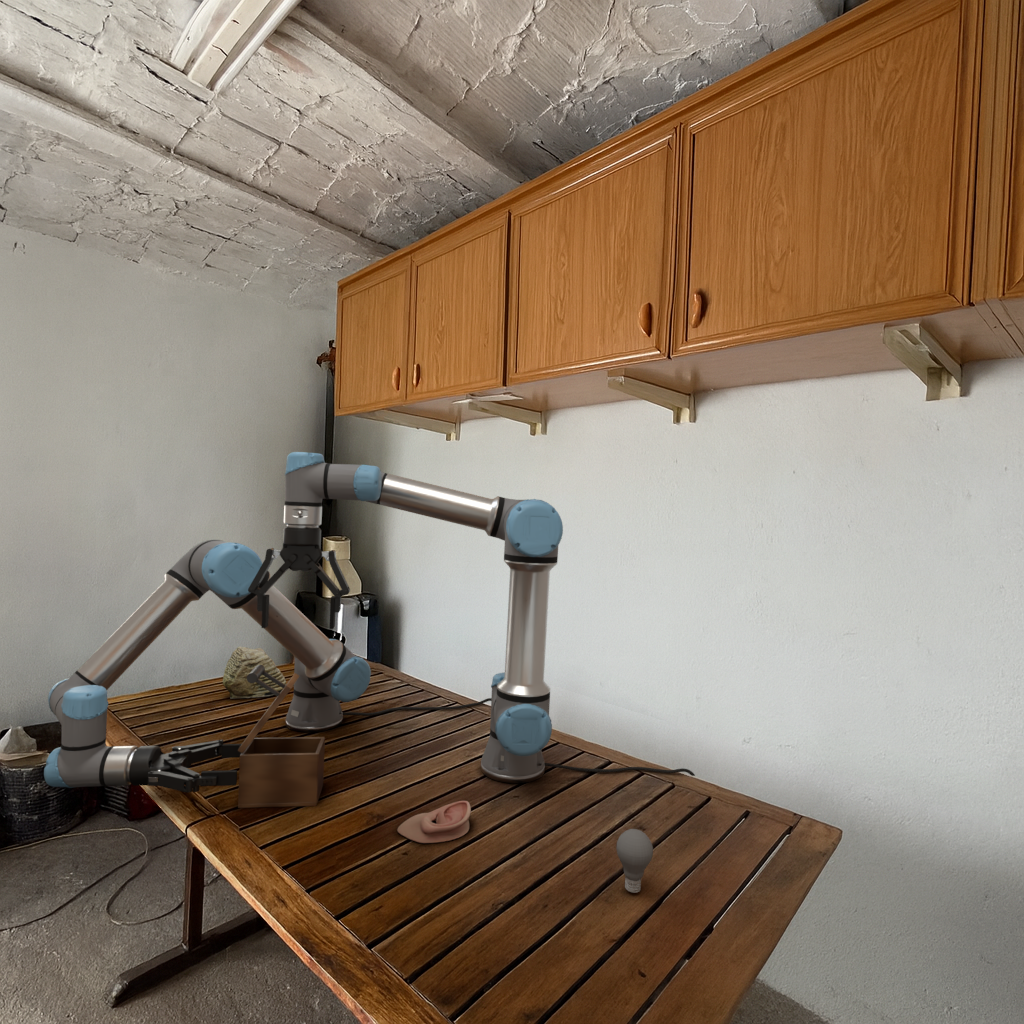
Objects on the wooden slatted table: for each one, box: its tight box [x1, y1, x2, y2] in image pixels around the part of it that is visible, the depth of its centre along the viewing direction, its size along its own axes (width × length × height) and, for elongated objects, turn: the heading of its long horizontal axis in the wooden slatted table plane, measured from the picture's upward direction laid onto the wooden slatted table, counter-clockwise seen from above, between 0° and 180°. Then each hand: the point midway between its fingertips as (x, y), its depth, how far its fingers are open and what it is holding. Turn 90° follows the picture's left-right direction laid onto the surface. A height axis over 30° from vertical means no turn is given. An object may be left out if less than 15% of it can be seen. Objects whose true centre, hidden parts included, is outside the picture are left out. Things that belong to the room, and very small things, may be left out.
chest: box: [237, 736, 326, 809], centre depth 133 cm, size 15×9×11 cm, turn 99°
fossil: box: [222, 646, 287, 699], centre depth 198 cm, size 9×18×15 cm, turn 132°
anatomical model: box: [396, 800, 472, 844], centre depth 123 cm, size 13×4×12 cm
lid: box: [238, 665, 299, 754], centre depth 132 cm, size 16×9×9 cm
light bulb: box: [615, 828, 654, 894], centre depth 106 cm, size 6×6×10 cm
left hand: (245, 763), depth 132 cm, fingers open, 13 cm apart
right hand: (298, 627), depth 133 cm, fingers open, 13 cm apart
